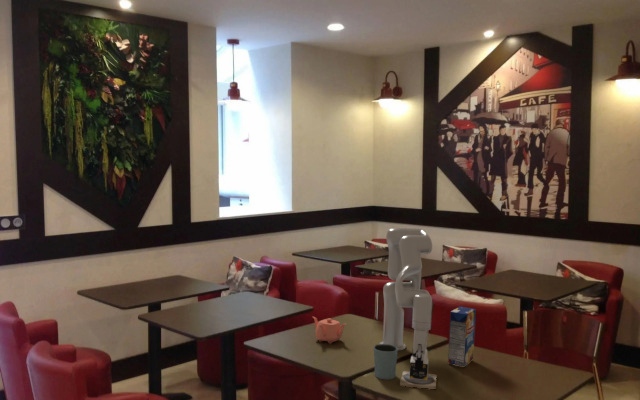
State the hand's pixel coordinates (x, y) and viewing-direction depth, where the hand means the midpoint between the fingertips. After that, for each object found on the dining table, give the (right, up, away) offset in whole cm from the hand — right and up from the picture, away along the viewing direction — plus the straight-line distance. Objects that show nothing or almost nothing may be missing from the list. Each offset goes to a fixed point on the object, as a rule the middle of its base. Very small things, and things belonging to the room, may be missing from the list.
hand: (419, 365), depth 240 cm
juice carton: (+23, -6, +25) cm, 34 cm away
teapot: (-37, -2, +49) cm, 61 cm away
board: (0, -7, 0) cm, 7 cm away
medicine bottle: (0, -5, +1) cm, 5 cm away
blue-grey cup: (-14, -6, +6) cm, 16 cm away
